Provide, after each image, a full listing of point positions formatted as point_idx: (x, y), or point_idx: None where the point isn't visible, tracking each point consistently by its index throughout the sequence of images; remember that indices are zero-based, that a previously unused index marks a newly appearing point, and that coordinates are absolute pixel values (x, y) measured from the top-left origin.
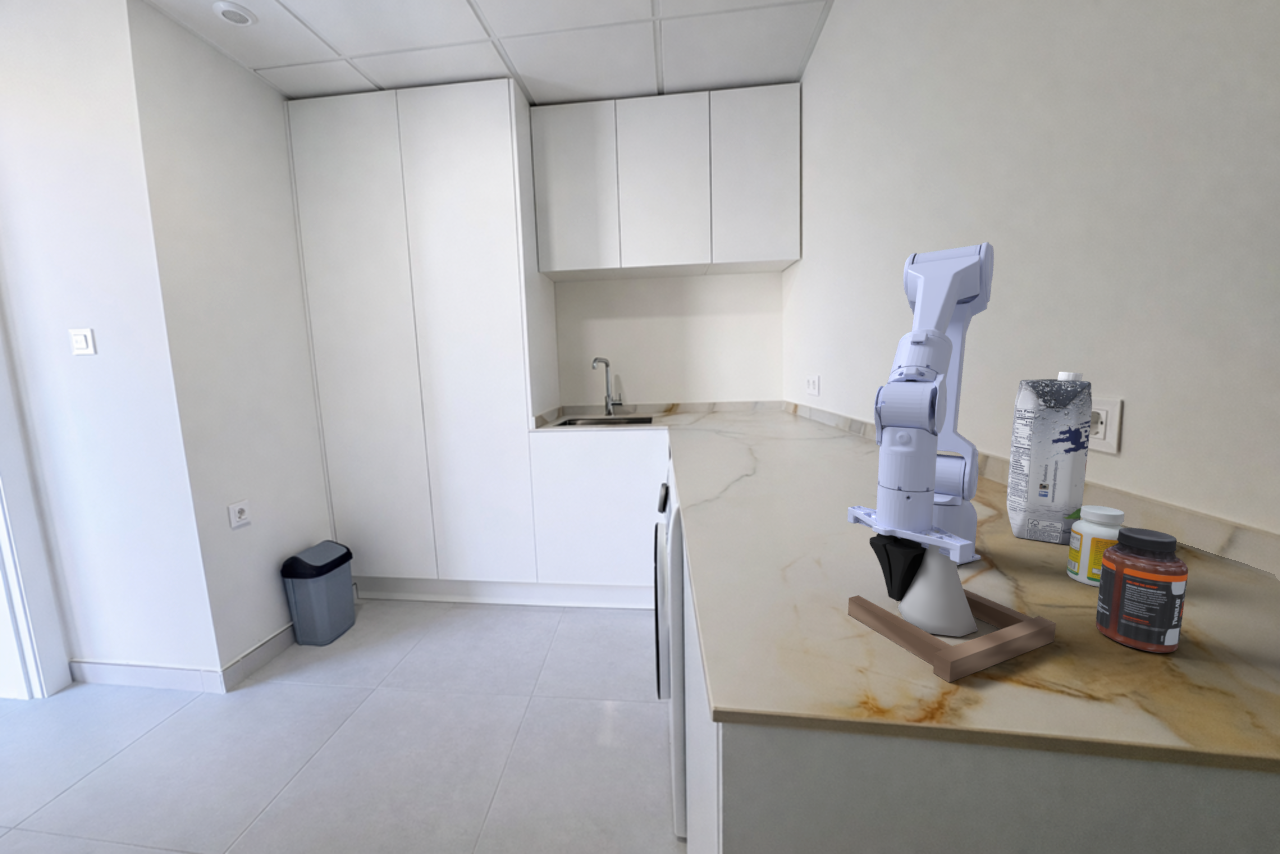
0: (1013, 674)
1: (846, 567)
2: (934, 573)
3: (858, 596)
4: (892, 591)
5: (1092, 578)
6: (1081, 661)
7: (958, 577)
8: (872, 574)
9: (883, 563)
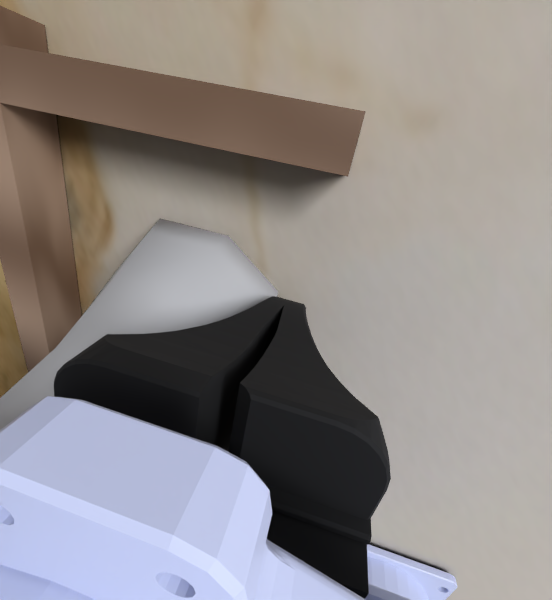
0: None
1: (523, 437)
2: (67, 346)
3: (341, 164)
4: (281, 305)
5: None
6: (20, 341)
7: None
8: (430, 437)
9: (295, 352)
